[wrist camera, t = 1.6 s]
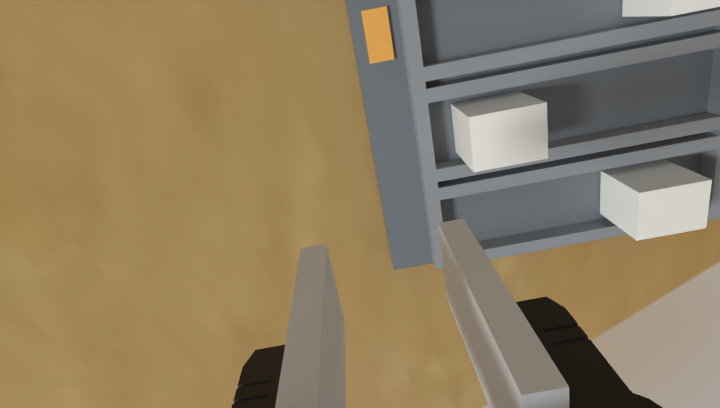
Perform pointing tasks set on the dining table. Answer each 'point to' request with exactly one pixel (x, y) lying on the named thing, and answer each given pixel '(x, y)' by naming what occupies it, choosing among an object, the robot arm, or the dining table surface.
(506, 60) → the switch board
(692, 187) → the tab
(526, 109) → the tab
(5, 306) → the dining table surface
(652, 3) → the tab
